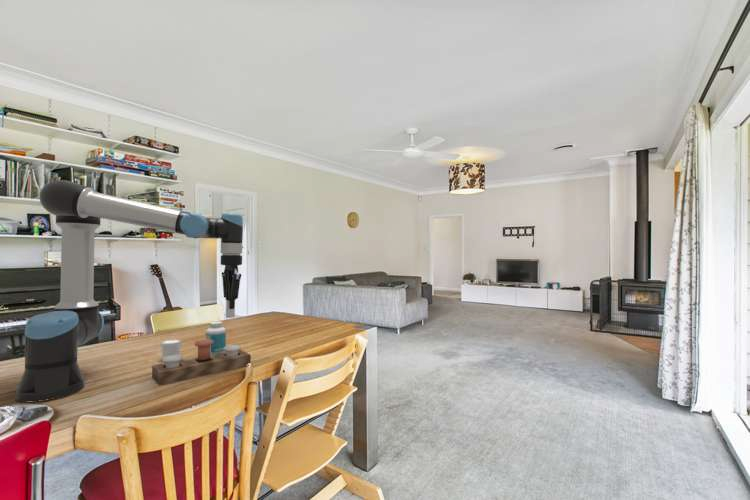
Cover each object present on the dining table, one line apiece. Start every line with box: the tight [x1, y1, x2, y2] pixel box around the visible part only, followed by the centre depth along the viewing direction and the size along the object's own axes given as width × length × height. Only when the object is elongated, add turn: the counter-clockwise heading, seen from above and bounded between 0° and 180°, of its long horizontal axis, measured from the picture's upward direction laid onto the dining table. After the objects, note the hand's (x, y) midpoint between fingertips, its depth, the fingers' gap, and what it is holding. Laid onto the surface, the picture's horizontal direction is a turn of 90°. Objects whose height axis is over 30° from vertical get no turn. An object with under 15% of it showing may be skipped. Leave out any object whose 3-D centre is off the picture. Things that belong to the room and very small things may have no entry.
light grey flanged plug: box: [160, 339, 182, 359], centre depth 139 cm, size 7×7×7 cm
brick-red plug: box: [194, 339, 213, 360], centre depth 126 cm, size 6×6×6 cm
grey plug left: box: [162, 354, 184, 369], centre depth 119 cm, size 6×6×6 cm
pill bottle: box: [205, 321, 227, 355], centre depth 145 cm, size 8×7×14 cm
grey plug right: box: [224, 344, 242, 357], centre depth 133 cm, size 6×6×6 cm
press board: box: [151, 349, 252, 386], centre depth 126 cm, size 30×10×4 cm, turn 133°
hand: (230, 317), depth 132 cm, fingers closed
